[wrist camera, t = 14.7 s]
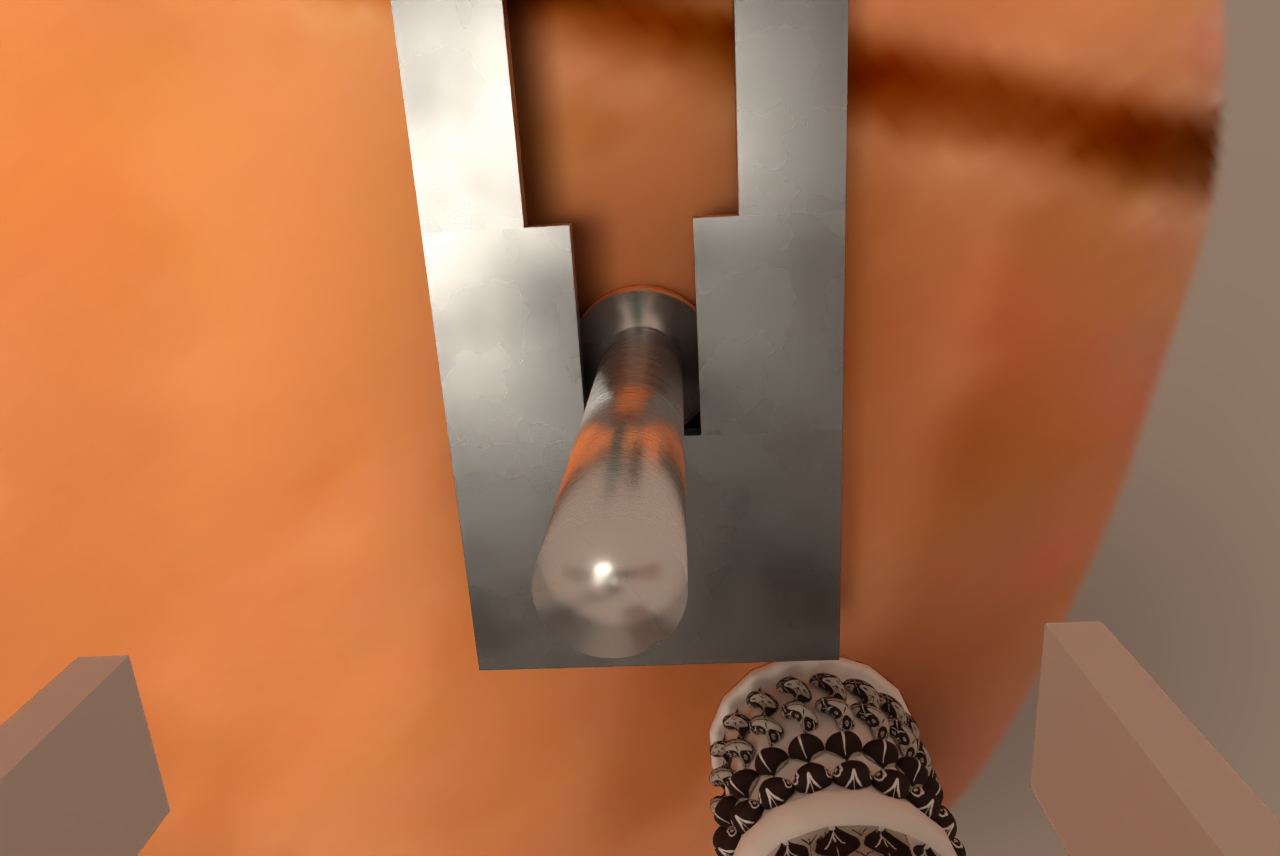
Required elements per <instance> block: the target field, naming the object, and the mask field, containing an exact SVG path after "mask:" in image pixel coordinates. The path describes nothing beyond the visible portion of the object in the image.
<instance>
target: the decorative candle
mask: <svg viewBox="0 0 1280 856" xmlns="http://www.w3.org/2000/svg"><path fill="white" fill-rule="evenodd" d="M710 745H711V747H710V754H711V761H712V768H713V770H712V771H711V772H710V774H709V781H710V783H711V784H712V785H713V786H717V787H718V786H721V787H722V788H723V789H724V793H723V795H722V796H716V797H714V798H713V799H712V800H711V802H710V809H711V811H712V813H713V814H714V818H715V820H716V822H717V823H718V824H719V825H720V827H719V828H718V829H717V830H716V831H715V833H714V836H713V845H714V849H715V851H716V853H717V855H718V856H966V852H965V848H964V846H963V844H962V842H961V841H959V840H958V839H957V838H954V837H955V835H956V831H957V827H956V822H955V819H954V817H953V816H952V814H951V813H950V812H949V810H948V809H947V808H946V807H944V806H942V805H941V802H942V800H943V791H942V788H941V786H940V784H939V782H938V778H937V775H936V773H935V771H934V770H933V769H932V768H931V758H930V754H929V752H928V750H927V748H926V747H925V745H924V744H923V743H922V742H921V741H920V732H919V728H918V725H917V724H916V722H915V720H914V719H913V718H912V717H911V714H910V712H909V710H908V708H907V706H906V704H905V702H904V700H903V698H902V696H901V694H900V692H899V690H898V689H897V688H896V687H895V686H894V685H892V684H891V683H890V682H889V681H887V680H886V679H885V678H884V677H883V676H881V675H880V674H879V673H878V672H876V671H875V670H874V669H873V668H871V667H870V666H869V665H866V664H863V663H859V662H856V661H853V660H850V659H846V658H843V657H840V656H839V660H820V661H786V662H771V663H769V664H766V665H764V666H761V667H759V668H756V669H754V670H752V671H750V672H749V673H748V674H747V675H746V676H745V677H744V678H742V679H741V680H740V681H739V682H738V683H737V684H736V685H735V686H734V687H733V688H732V689H731V690H730V691H729V692H728V693H727V694H725V695H724V696H723V698H722V700H721V703H720V705H719V708H718V710H717V712H716V715H715V717H714V719H713V722H712V724H711V727H710ZM726 792H727V794H728V796H727V797H726Z"/></svg>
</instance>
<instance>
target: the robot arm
mask: <svg viewBox="0 0 1280 856" xmlns="http://www.w3.org/2000/svg"><path fill="white" fill-rule="evenodd" d="M1030 787H1031V789H1032V791H1033V793H1034V795H1035V796H1036V798H1037V800H1038V802H1039V803H1040V805H1041V807H1042V809H1043V811H1044V813H1045V815H1046V816H1047V818H1048V820H1049V822H1050V823H1051V825H1052V827H1053V829H1054V830H1055V832H1056V834H1057V836H1058V838H1059V840H1060V841H1061V843H1062V845H1063V847H1064V849H1065V850H1066V852H1067V854H1068V856H1280V821H1278V819H1277V818H1276V817H1275V816H1274V815H1273V814H1272V813H1271V811H1270V810H1269V809H1268V808H1267V807H1266V806H1265V805H1264V804H1263V802H1262V801H1261V800H1260V799H1259V798H1258V797H1257V796H1256V795H1255V793H1254V792H1253V791H1252V790H1251V789H1250V788H1249V787H1248V786H1247V784H1246V783H1245V782H1244V781H1243V780H1242V779H1241V778H1240V777H1239V775H1238V774H1237V773H1236V772H1235V771H1234V770H1233V769H1232V768H1231V766H1230V765H1229V764H1228V763H1227V762H1226V761H1225V760H1224V759H1223V757H1222V756H1221V755H1220V754H1219V753H1218V752H1217V751H1216V750H1215V748H1214V747H1213V746H1212V745H1211V744H1210V743H1209V742H1208V741H1207V739H1206V738H1205V737H1204V736H1203V735H1202V734H1201V733H1200V732H1199V730H1198V729H1197V728H1196V727H1195V726H1194V725H1193V724H1192V723H1191V721H1190V720H1189V719H1188V718H1187V717H1186V716H1185V715H1184V714H1183V713H1182V711H1181V710H1180V709H1179V708H1178V707H1177V706H1176V705H1175V704H1174V703H1173V701H1172V700H1171V699H1170V698H1169V697H1168V696H1167V695H1166V693H1165V692H1164V691H1163V690H1162V689H1161V688H1160V687H1159V686H1158V684H1157V683H1156V682H1155V681H1154V680H1153V679H1152V678H1151V677H1150V675H1149V674H1148V673H1147V672H1146V671H1145V670H1144V669H1143V668H1142V667H1141V665H1140V664H1139V663H1138V662H1137V661H1136V660H1135V659H1134V657H1132V655H1131V654H1130V653H1129V652H1128V651H1127V650H1126V648H1125V647H1124V646H1123V645H1122V644H1121V643H1120V642H1119V641H1118V640H1117V638H1116V637H1115V636H1114V635H1113V634H1112V633H1111V632H1110V631H1109V629H1107V627H1106V626H1105V625H1104V624H1103V623H1102V621H1089V622H1059V623H1045V628H1044V639H1043V650H1042V661H1041V672H1040V683H1039V694H1038V706H1037V717H1036V728H1035V738H1034V750H1033V760H1032V771H1031V782H1030ZM169 811H170V808H169V804H168V801H167V797H166V793H165V789H164V786H163V782H162V778H161V774H160V770H159V767H158V763H157V759H156V755H155V752H154V748H153V744H152V740H151V737H150V733H149V729H148V725H147V722H146V718H145V714H144V710H143V707H142V703H141V699H140V695H139V691H138V688H137V684H136V680H135V676H134V673H133V669H132V665H131V661H130V658H129V656H102V657H78V658H77V659H76V660H74V661H73V662H72V663H71V664H70V665H69V666H68V667H67V668H65V669H64V670H63V671H62V672H61V673H60V674H59V675H58V676H57V677H55V678H54V679H53V680H52V681H51V682H50V683H49V684H48V685H46V686H45V687H44V688H43V689H42V690H41V691H40V692H39V693H37V694H36V695H35V696H34V697H33V698H32V699H31V700H30V701H28V702H27V703H26V704H25V705H24V706H23V707H22V708H21V709H19V710H18V711H17V712H16V713H15V714H14V715H13V716H12V717H10V718H9V719H8V720H7V721H6V722H5V723H4V724H3V725H1V726H0V856H137V855H138V853H139V852H140V851H141V849H142V848H143V847H144V845H145V844H146V843H147V841H148V840H149V838H150V837H151V836H152V834H153V833H154V832H155V830H156V829H157V828H158V826H159V825H160V823H161V822H162V821H163V819H164V818H165V817H166V815H167V814H168V813H169Z"/></svg>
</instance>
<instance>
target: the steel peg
mask: <svg viewBox="0 0 1280 856" xmlns="http://www.w3.org/2000/svg"><path fill="white" fill-rule="evenodd" d="M580 330H581V342H582V354H583V367H584V379H585V392H586V404H587V405H586V408H585V411H584V414H583V417H582V421H581V424H580V427H579V430H578V433H577V436H576V440H575V443H574V446H573V449H572V452H571V455H570V458H569V462H568V465H567V468H566V471H565V474H564V477H563V481H562V484H561V487H560V490H559V493H558V496H557V499H556V503H555V506H554V509H553V512H552V515H551V518H550V522H549V525H548V528H547V531H546V534H545V537H544V540H543V544H542V547H541V550H540V553H539V556H538V559H537V563H536V566H535V569H534V573H533V579H532V595H533V600H534V604H535V607H536V610H537V612H538V614H539V616H540V618H541V620H542V622H543V623H544V625H545V626H546V627H547V629H548V630H549V631H550V632H551V633H552V634H553V635H554V636H555V637H556V638H557V639H558V640H560V641H561V642H563V643H564V644H565V645H567V646H569V647H570V648H572V649H574V650H576V651H579V652H581V653H584V654H587V655H591V656H595V657H601V658H624V657H629V656H634V655H637V654H640V653H643V652H646V651H648V650H650V649H652V648H654V647H655V646H657V645H658V644H660V643H661V642H662V641H664V640H665V639H666V638H667V637H668V636H669V635H670V634H671V633H672V632H673V631H674V630H675V628H676V627H677V625H678V624H679V622H680V620H681V618H682V616H683V614H684V611H685V608H686V604H687V598H688V571H687V532H686V493H685V454H684V424H686V423H687V422H689V421H690V420H691V419H692V418H693V417H695V416H696V415H697V414H698V412H699V411H700V396H699V370H698V344H697V318H696V307H695V306H694V305H693V304H692V303H691V302H689V301H688V300H687V299H686V298H684V297H682V296H681V295H679V294H677V293H675V292H673V291H671V290H669V289H666V288H662V287H659V286H652V285H632V286H627V287H623V288H619V289H616V290H614V291H611V292H609V293H608V294H606V295H604V296H602V297H601V298H600V299H598V300H597V301H596V302H594V303H593V304H592V305H591V306H590V307H589V308H588V309H587V311H586V312H585V313H584V314H583V316H582V317H581V319H580Z"/></svg>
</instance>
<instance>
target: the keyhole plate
mask: <svg viewBox="0 0 1280 856" xmlns="http://www.w3.org/2000/svg"><path fill="white" fill-rule="evenodd" d="M848 1H849V0H733V43H734V86H735V129H736V172H737V213H736V214H718V215H700V216H693V240H694V266H695V292H696V318H697V344H698V370H699V396H700V422H701V428H684V454H685V493H686V532H687V571H688V598H687V604H686V608H685V611H684V614H683V616H682V618H681V620H680V622H679V624H678V625H677V627H676V628H675V630H674V631H673V632H672V633H671V634H670V635H669V636H668V637H667V638H666V639H665V640H664V641H662V642H661V643H660V644H658V645H657V646H655V647H654V648H652V649H650V650H648V651H646V652H643V653H640V654H637V655H634V656H629V657H624V658H601V657H595V656H591V655H587V654H584V653H581V652H579V651H576V650H574V649H572V648H570V647H569V646H567V645H565V644H564V643H563V642H561V641H560V640H558V639H557V638H556V637H555V636H554V635H553V634H552V633H551V632H550V631H549V630H548V629H547V627H546V626H545V625H544V623H543V622H542V620H541V618H540V616H539V614H538V612H537V610H536V607H535V604H534V600H533V595H532V579H533V573H534V569H535V566H536V563H537V559H538V556H539V553H540V550H541V547H542V544H543V540H544V537H545V534H546V531H547V528H548V525H549V522H550V518H551V515H552V512H553V509H554V506H555V503H556V499H557V496H558V493H559V490H560V487H561V484H562V481H563V477H564V474H565V471H566V468H567V465H568V462H569V458H570V455H571V452H572V449H573V446H574V443H575V440H576V436H577V433H578V430H579V427H580V424H581V421H582V417H583V414H584V411H585V408H586V405H587V404H586V392H585V379H584V367H583V354H582V342H581V330H580V317H579V305H578V292H577V280H576V267H575V255H574V242H573V230H572V223H556V224H538V225H528V221H527V211H526V200H525V190H524V179H523V169H522V158H521V148H520V137H519V127H518V116H517V106H516V95H515V85H514V75H513V64H512V54H511V43H510V33H509V22H508V12H507V1H506V0H391V8H392V15H393V23H394V31H395V38H396V46H397V53H398V61H399V68H400V76H401V83H402V91H403V98H404V106H405V113H406V121H407V128H408V136H409V144H410V151H411V159H412V166H413V174H414V181H415V189H416V196H417V204H418V211H419V219H420V226H421V234H422V241H423V249H424V256H425V264H426V272H427V279H428V287H429V294H430V302H431V309H432V317H433V324H434V332H435V339H436V347H437V354H438V362H439V369H440V377H441V385H442V392H443V400H444V407H445V415H446V422H447V430H448V437H449V445H450V452H451V460H452V467H453V475H454V482H455V490H456V497H457V505H458V513H459V520H460V528H461V535H462V543H463V550H464V558H465V565H466V573H467V580H468V588H469V595H470V603H471V610H472V618H473V626H474V633H475V641H476V648H477V656H478V663H479V670H508V669H543V668H577V667H612V666H647V665H681V664H716V663H751V662H786V661H820V660H839V642H840V570H841V499H842V428H843V357H844V286H845V215H846V143H847V72H848Z"/></svg>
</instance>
